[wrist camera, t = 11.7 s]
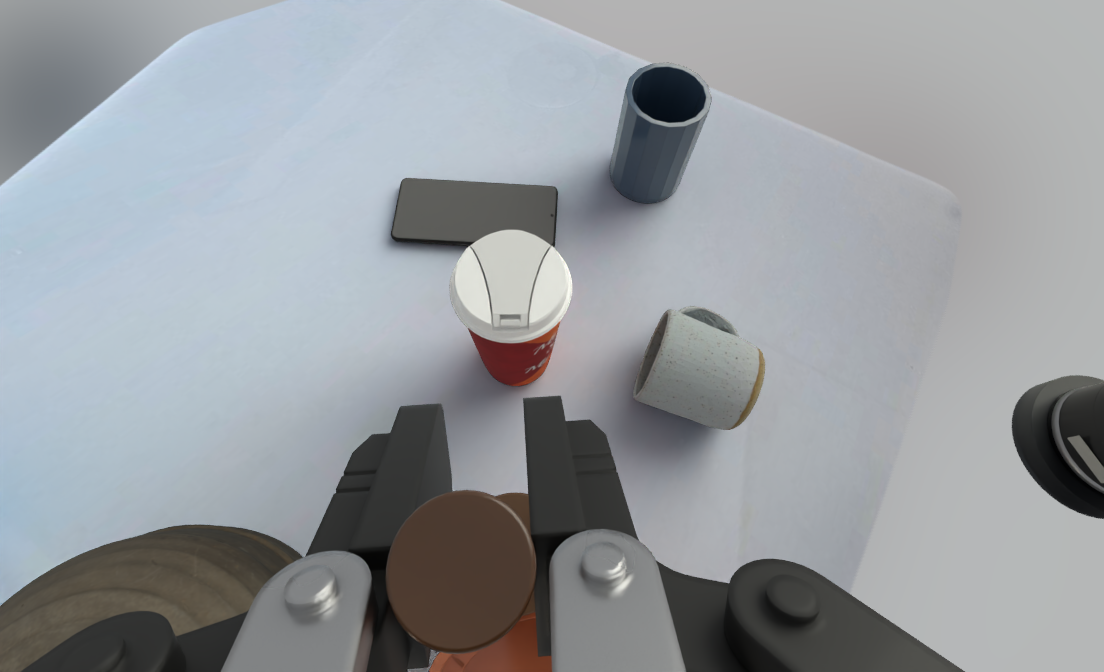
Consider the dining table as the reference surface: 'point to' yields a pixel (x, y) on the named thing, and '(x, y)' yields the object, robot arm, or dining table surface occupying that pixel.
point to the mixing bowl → (501, 653)
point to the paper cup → (512, 302)
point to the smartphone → (471, 211)
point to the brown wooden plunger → (463, 570)
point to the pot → (142, 586)
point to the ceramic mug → (700, 369)
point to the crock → (658, 130)
